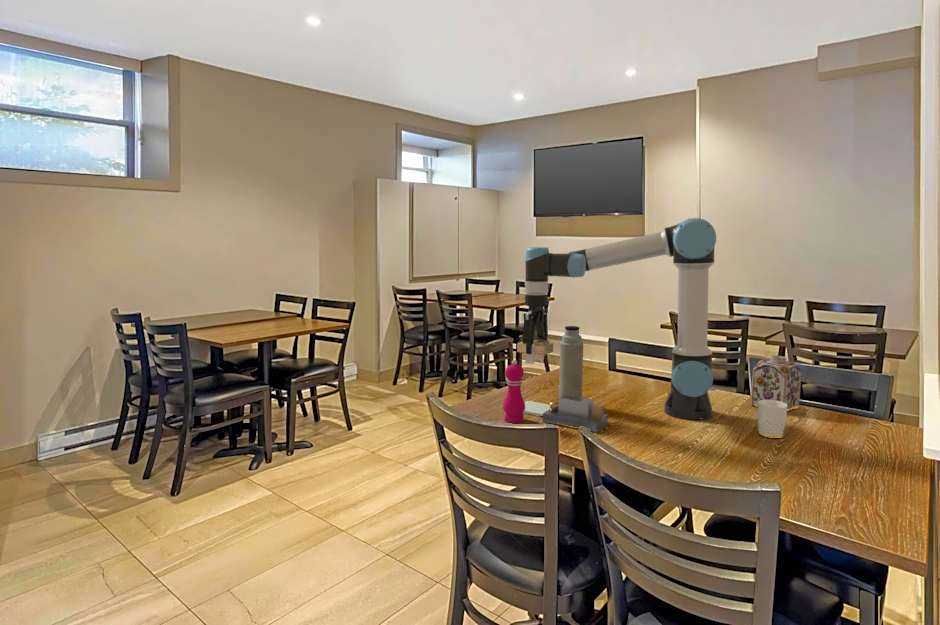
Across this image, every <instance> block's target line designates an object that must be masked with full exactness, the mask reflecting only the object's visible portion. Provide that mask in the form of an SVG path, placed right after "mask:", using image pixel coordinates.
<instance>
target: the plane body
mask: <svg viewBox="0 0 940 625" xmlns="http://www.w3.org/2000/svg"><path fill="white" fill-rule="evenodd" d="M549 405H550V409H549V410H548V411H546V412H544V413H543V417H542V423H544V422H547V423H546V424H549V423H553V424H552V425H554V424H557V423H559V424H560V425H562V424H563V425H568V426H573V427H577V428H578V427H580V426H584V427H586V428H588V429H590V430H591V431H593V432H592V433H596V434H597V433H598V432H599V431H600V430H602V429H603V428H605V426H607V425H608V424H609V414H608V413H607V414H606V413H605V405H603V404H599V403H594V399H591V398H584V397H582V398H580V397H574V396H568V395H563V396H561V397H560V398H559V397H558V401H550V402H549Z"/></svg>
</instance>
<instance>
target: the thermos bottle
mask: <svg viewBox="0 0 940 625" xmlns="http://www.w3.org/2000/svg"><path fill="white" fill-rule="evenodd" d="M564 329H565V330H564V334H563V335H562V336H561V337H562V338H561V341H560V342H559V371H558V372H559V373H558V374H559V377H558V380H559V381H558V383H559V385H558V399H559V398H560V397H561V396H563V395H568V396H574V397H580V398H583V375H584V374H583V371H584V370H583V368H584V360H583V359H584V342H582V335H580V326H576V325H566V326H565V327H564Z"/></svg>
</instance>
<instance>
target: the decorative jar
mask: <svg viewBox="0 0 940 625" xmlns="http://www.w3.org/2000/svg"><path fill="white" fill-rule="evenodd" d="M751 379H752V380H751V390H750V391H751V392H750V404H751V405H755V406H758V401H760V400H776V401H780V402H784V403H786V404H787V405H788V408H787V409H790V408H792V407H795V406H800V400H801V399H800V397H801V384H802V370H801V368H800V367H799V366H798V365H797V364H796V363H795V362H793V361H790V360H789V361H788V360H787V358H786V356H782V355H771V356H770V359H769V358H768V359H767V358H766V359H762V360H759V361H758V362H757V364H755V366H754V367H753V371H752V378H751ZM751 405H750V406H751Z"/></svg>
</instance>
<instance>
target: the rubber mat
mask: <svg viewBox="0 0 940 625" xmlns="http://www.w3.org/2000/svg"><path fill="white" fill-rule="evenodd" d="M524 403H525V410H524V412H523V413H524V414H523V413H522V414H523V415H528V414H531V415H530V416H534V415H538V416H537V417H539V416H543V413H544V412H546V411H548V410H549V409H550V403H549V404H548V403H543V402H536V401H532V400H531V401H530V400H526V401H524Z"/></svg>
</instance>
